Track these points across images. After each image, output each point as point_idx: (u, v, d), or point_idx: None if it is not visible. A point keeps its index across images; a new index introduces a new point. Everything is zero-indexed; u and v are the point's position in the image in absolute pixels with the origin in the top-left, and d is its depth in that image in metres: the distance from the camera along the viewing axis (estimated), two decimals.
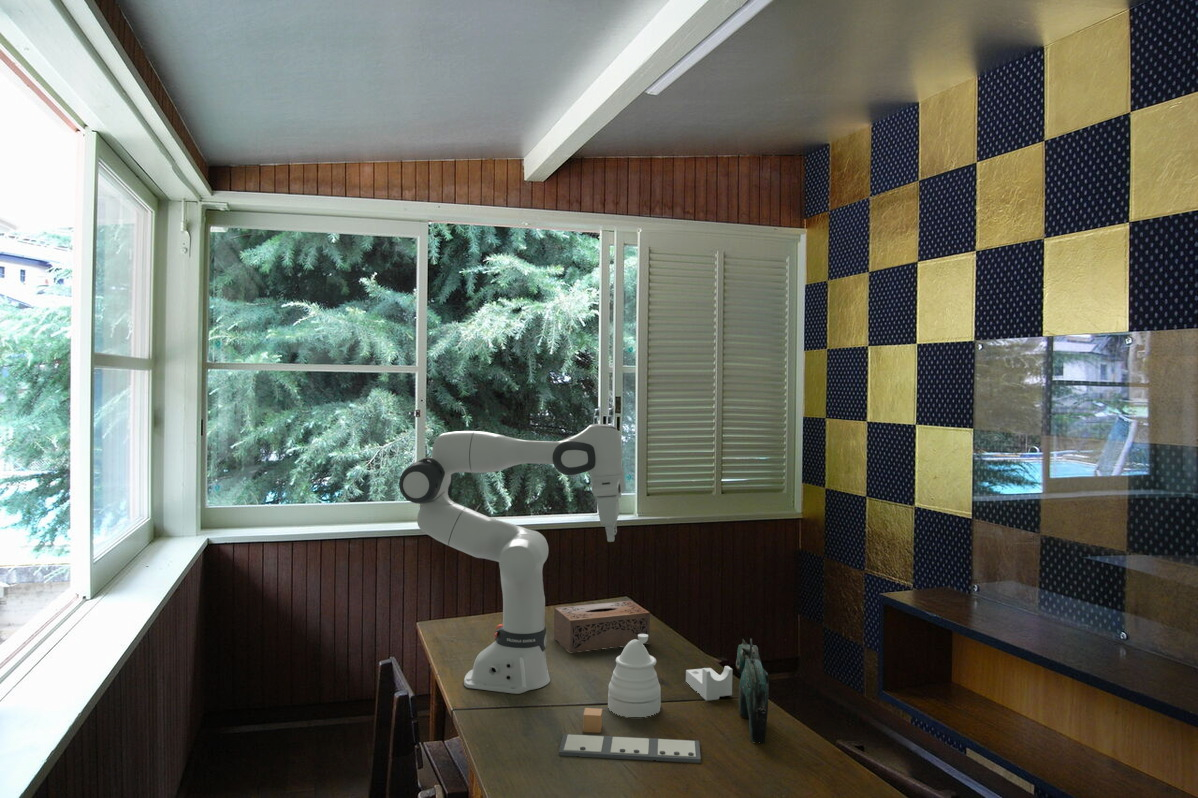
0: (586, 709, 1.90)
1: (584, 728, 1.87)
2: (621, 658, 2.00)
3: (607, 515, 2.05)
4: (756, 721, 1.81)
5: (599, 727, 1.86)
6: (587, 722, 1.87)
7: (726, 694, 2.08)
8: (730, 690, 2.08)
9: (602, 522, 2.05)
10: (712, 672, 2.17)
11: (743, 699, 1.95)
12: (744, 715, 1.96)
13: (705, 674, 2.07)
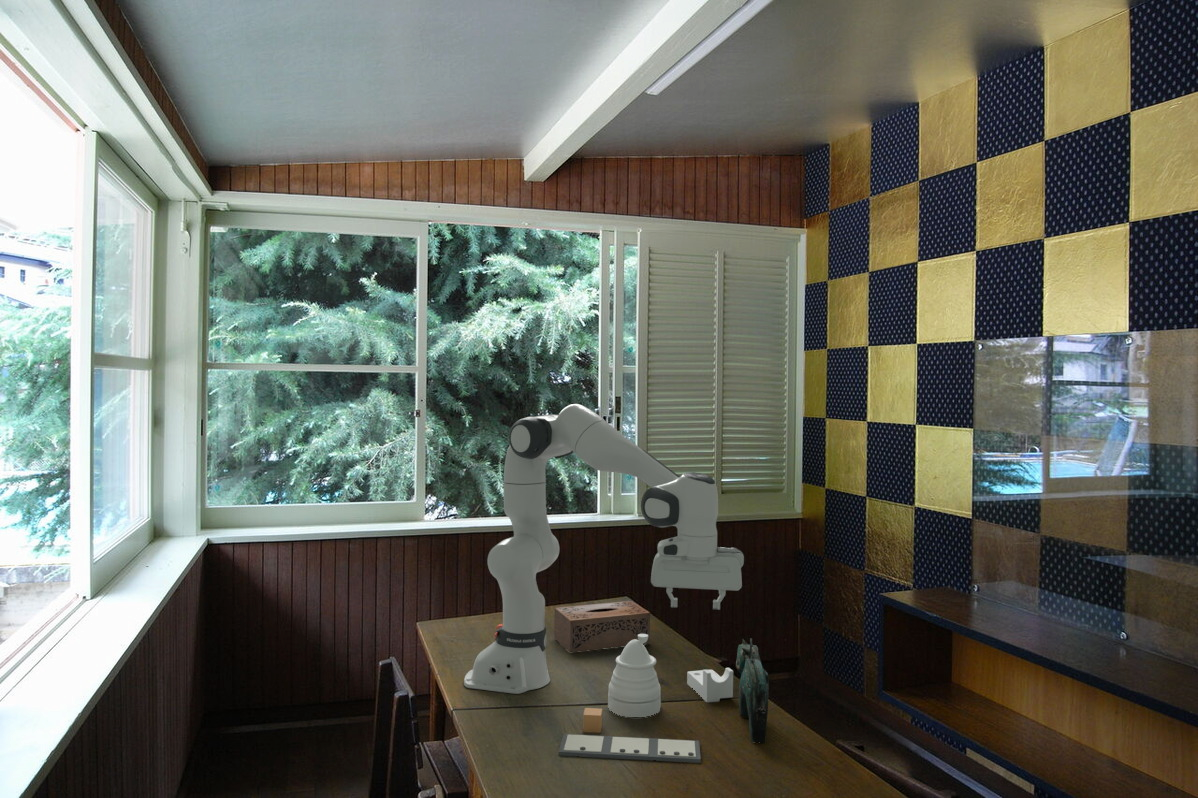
0: (586, 709, 1.90)
1: (584, 728, 1.87)
2: (621, 658, 2.00)
3: None
4: (756, 721, 1.81)
5: (599, 727, 1.86)
6: (587, 722, 1.87)
7: (727, 696, 2.07)
8: (731, 692, 2.07)
9: None
10: (713, 674, 2.16)
11: (743, 699, 1.95)
12: (744, 715, 1.96)
13: (705, 676, 2.06)
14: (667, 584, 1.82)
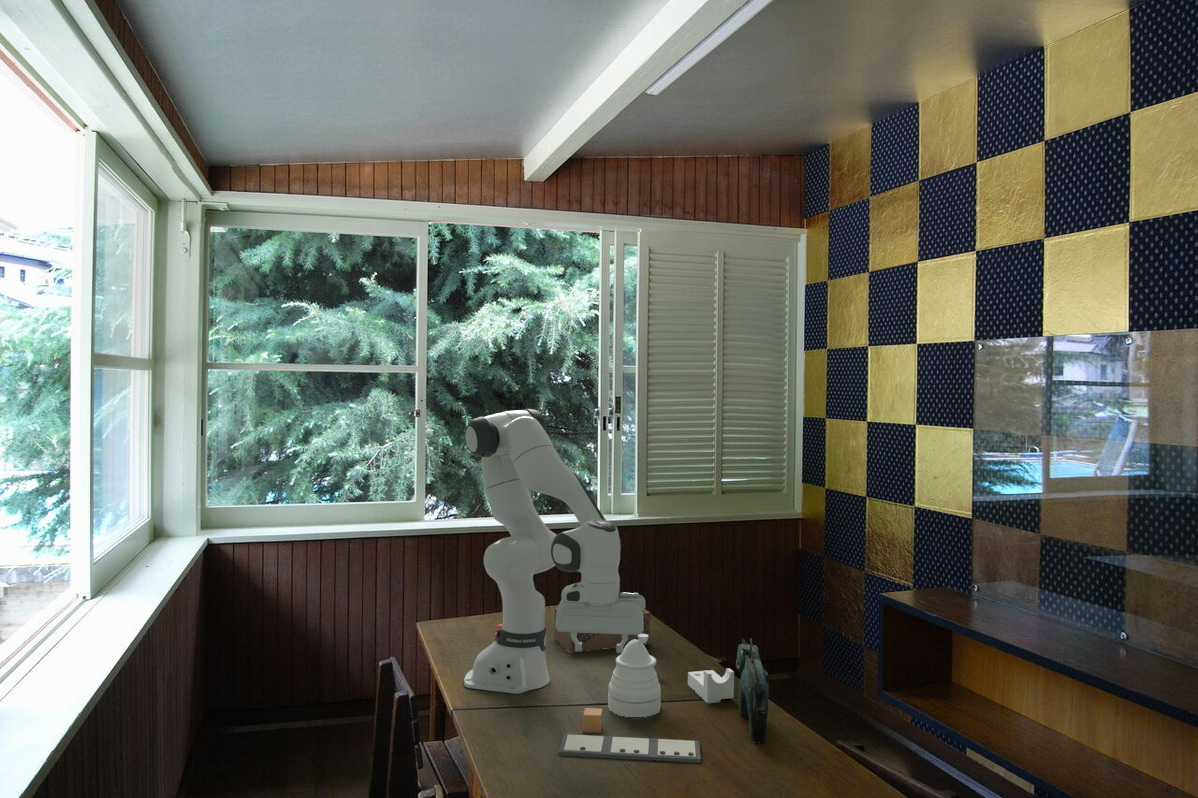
0: (586, 709, 1.90)
1: (584, 728, 1.87)
2: (621, 658, 2.00)
3: None
4: (756, 721, 1.81)
5: (599, 727, 1.86)
6: (587, 722, 1.87)
7: (728, 697, 2.06)
8: (731, 693, 2.06)
9: None
10: (714, 675, 2.15)
11: (743, 699, 1.95)
12: (744, 715, 1.96)
13: (706, 676, 2.05)
14: (571, 629, 1.87)
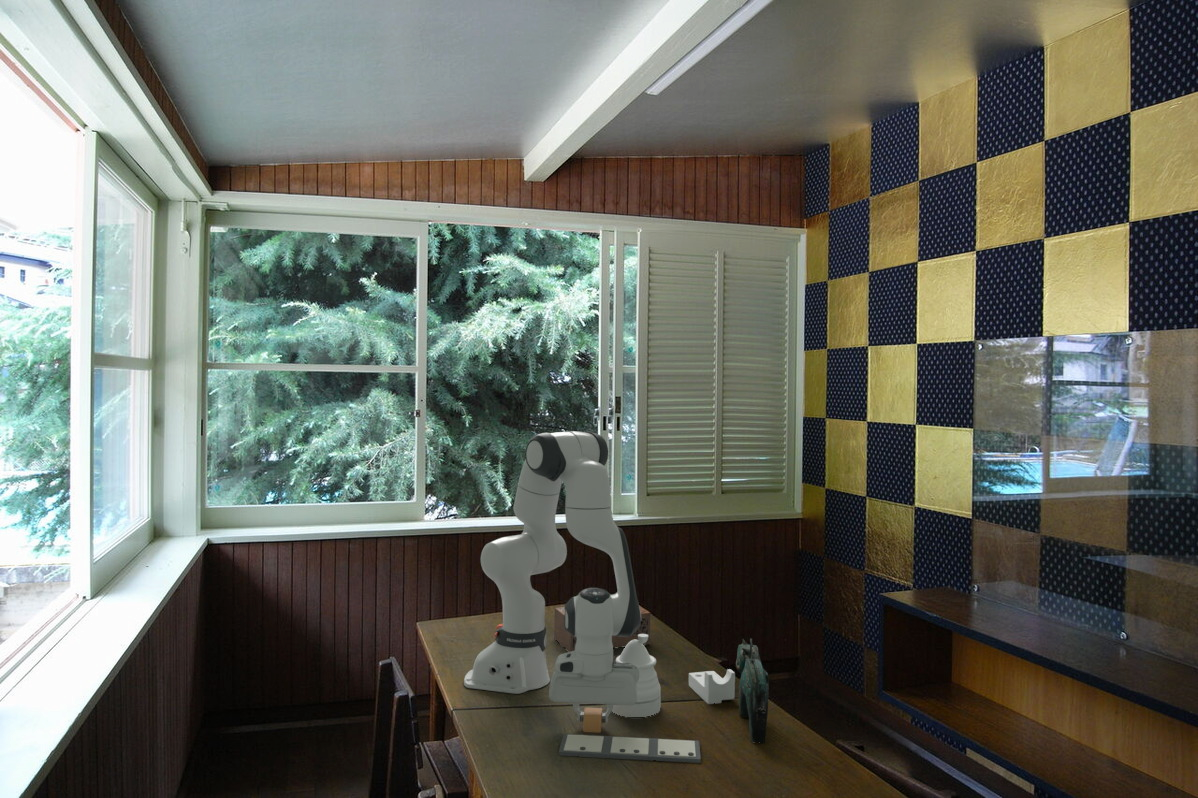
0: (586, 709, 1.90)
1: (584, 728, 1.87)
2: (621, 658, 2.00)
3: None
4: (756, 721, 1.81)
5: (599, 727, 1.86)
6: (587, 721, 1.87)
7: (728, 698, 2.06)
8: (732, 694, 2.06)
9: None
10: (715, 675, 2.15)
11: (743, 699, 1.95)
12: (744, 715, 1.96)
13: (707, 677, 2.05)
14: (564, 699, 1.87)
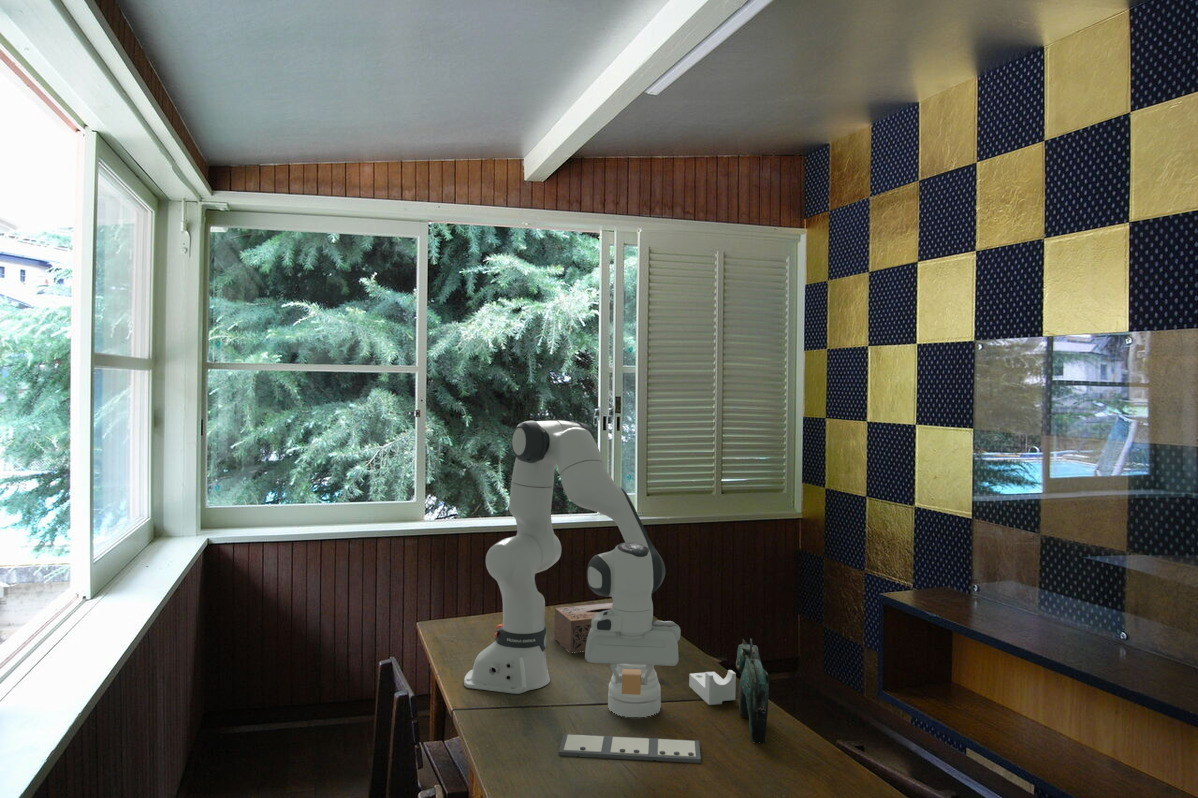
0: (624, 670, 1.79)
1: (623, 689, 1.76)
2: None
3: None
4: (756, 721, 1.81)
5: (639, 688, 1.75)
6: (626, 683, 1.76)
7: (729, 699, 2.05)
8: (733, 695, 2.05)
9: None
10: (716, 676, 2.14)
11: (743, 699, 1.95)
12: (744, 715, 1.96)
13: (708, 678, 2.04)
14: (601, 660, 1.76)
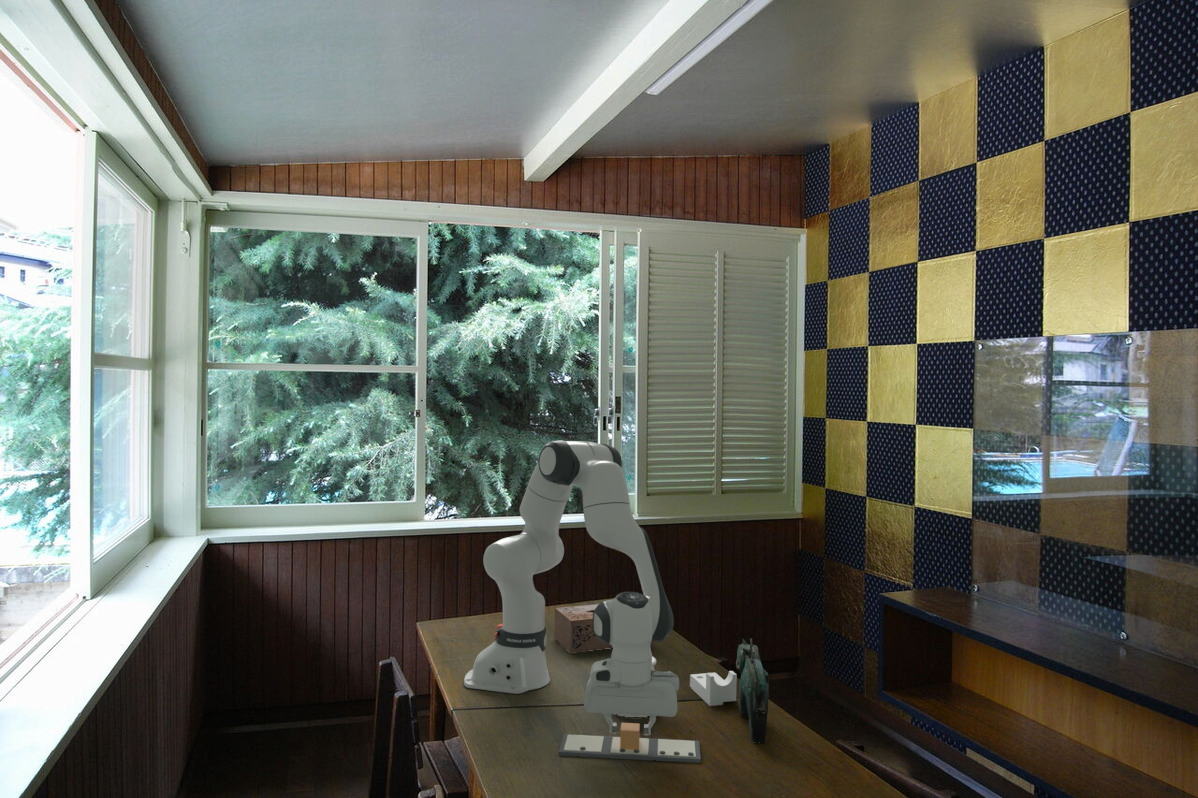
0: (623, 724, 1.79)
1: (621, 744, 1.76)
2: None
3: None
4: (756, 721, 1.81)
5: (637, 743, 1.76)
6: (625, 738, 1.76)
7: (730, 699, 2.04)
8: (734, 696, 2.05)
9: None
10: (717, 677, 2.14)
11: (743, 699, 1.95)
12: (744, 715, 1.96)
13: (709, 679, 2.04)
14: (600, 710, 1.76)
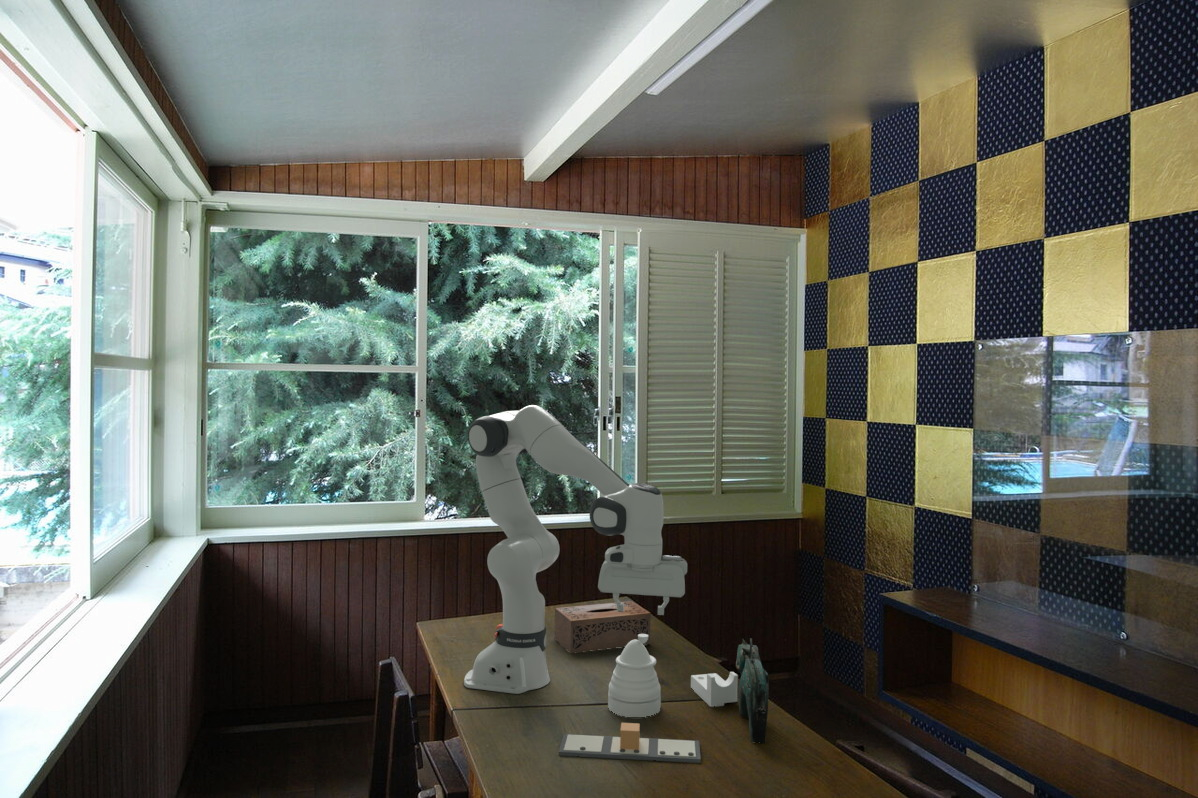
0: (623, 724, 1.79)
1: (621, 744, 1.76)
2: (621, 658, 2.00)
3: None
4: (756, 721, 1.81)
5: (637, 743, 1.76)
6: (625, 738, 1.76)
7: (731, 700, 2.04)
8: (735, 697, 2.04)
9: None
10: (717, 678, 2.13)
11: (743, 699, 1.95)
12: (744, 715, 1.96)
13: (710, 680, 2.03)
14: (613, 590, 1.90)
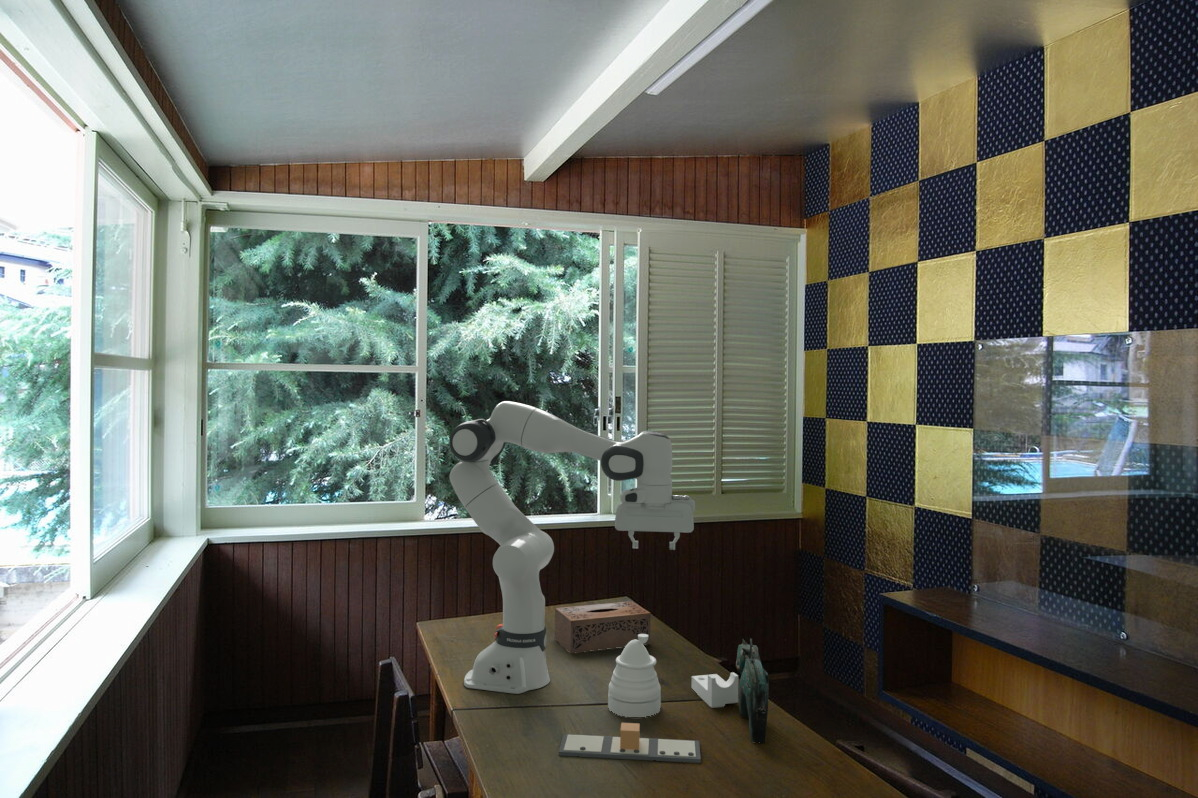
0: (623, 724, 1.79)
1: (621, 744, 1.76)
2: (621, 658, 2.00)
3: None
4: (756, 721, 1.81)
5: (637, 743, 1.76)
6: (625, 738, 1.76)
7: (732, 701, 2.03)
8: (736, 697, 2.04)
9: None
10: (718, 679, 2.12)
11: (743, 699, 1.95)
12: (744, 715, 1.96)
13: (710, 681, 2.02)
14: (629, 528, 2.09)
